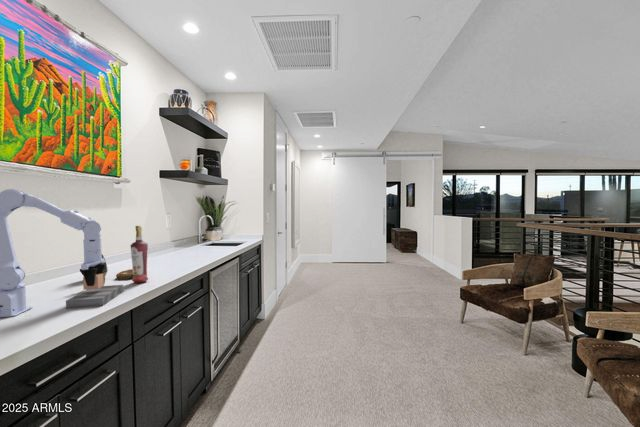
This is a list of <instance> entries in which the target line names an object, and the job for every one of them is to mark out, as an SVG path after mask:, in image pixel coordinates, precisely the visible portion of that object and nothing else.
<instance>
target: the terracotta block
mask: <svg viewBox="0 0 640 427" xmlns="http://www.w3.org/2000/svg"><path fill="white" fill-rule="evenodd" d="M82 281H83V283H82V284H83V291H85V290H88V289H99V288H100V287H102V286H105V284H104V279H103V274H96V276H95V283H94V286H87V284H86V281H85V278H84V276H83V278H82Z"/></svg>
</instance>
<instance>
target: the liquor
mask: <svg viewBox="0 0 640 427" xmlns="http://www.w3.org/2000/svg"><path fill="white" fill-rule="evenodd" d="M142 229H143V226H142V225H135V232H136V233H135V241H134V242H132V243H131V244H130V254H131V255H130V257H131V264H132V269H133V279H131V280H132V282H133V283H134V284H143V283H146V282H148V280H149V277H148V257H149V256H148V255H149V253H148V252H149V251H148V248H149V245H148V243H147V242H145V241H143V235H142V234H143V233H142V231H143V230H142Z"/></svg>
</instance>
